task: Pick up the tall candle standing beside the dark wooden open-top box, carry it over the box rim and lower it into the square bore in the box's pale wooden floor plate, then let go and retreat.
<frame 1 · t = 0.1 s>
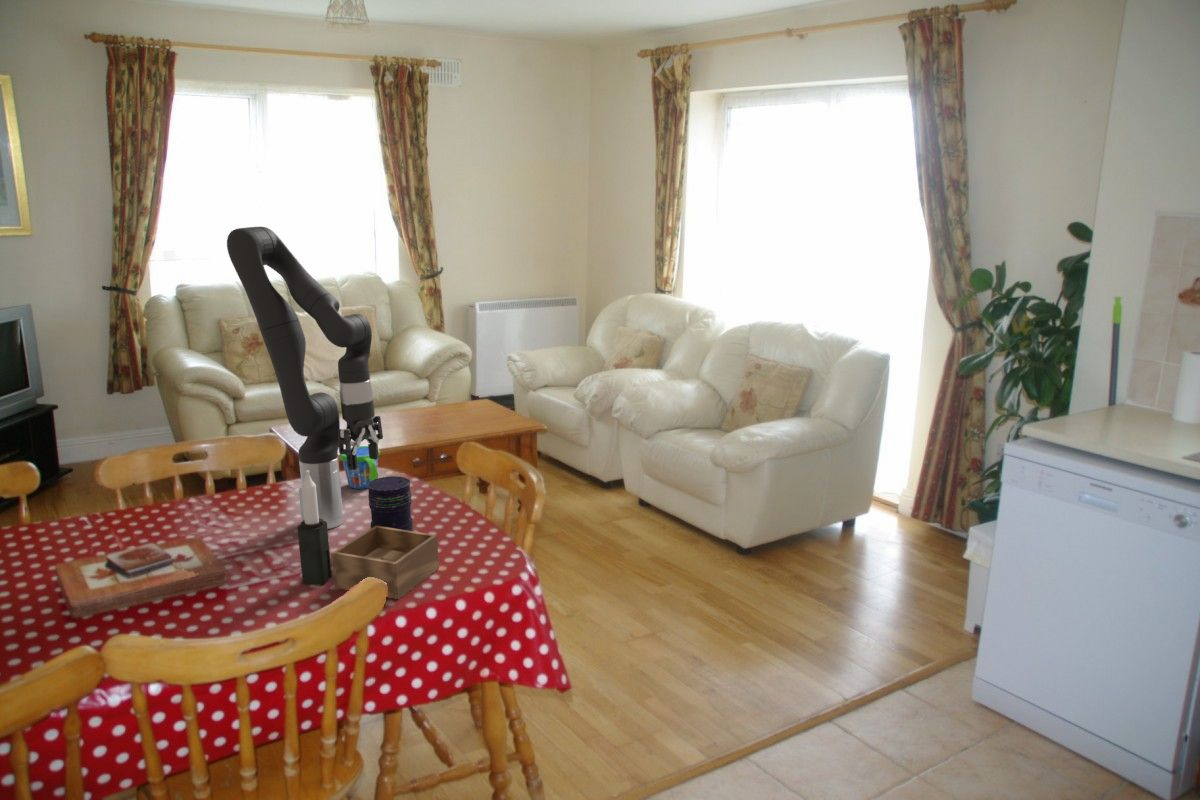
hand: (363, 464, 217), 17 cm above the table, tool pointing down, fingers open, 8 cm apart
peg box: (387, 577, 196), on the table
snack cup: (362, 486, 254), on the table
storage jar: (393, 543, 215), on the table
candle: (317, 580, 195), on the table
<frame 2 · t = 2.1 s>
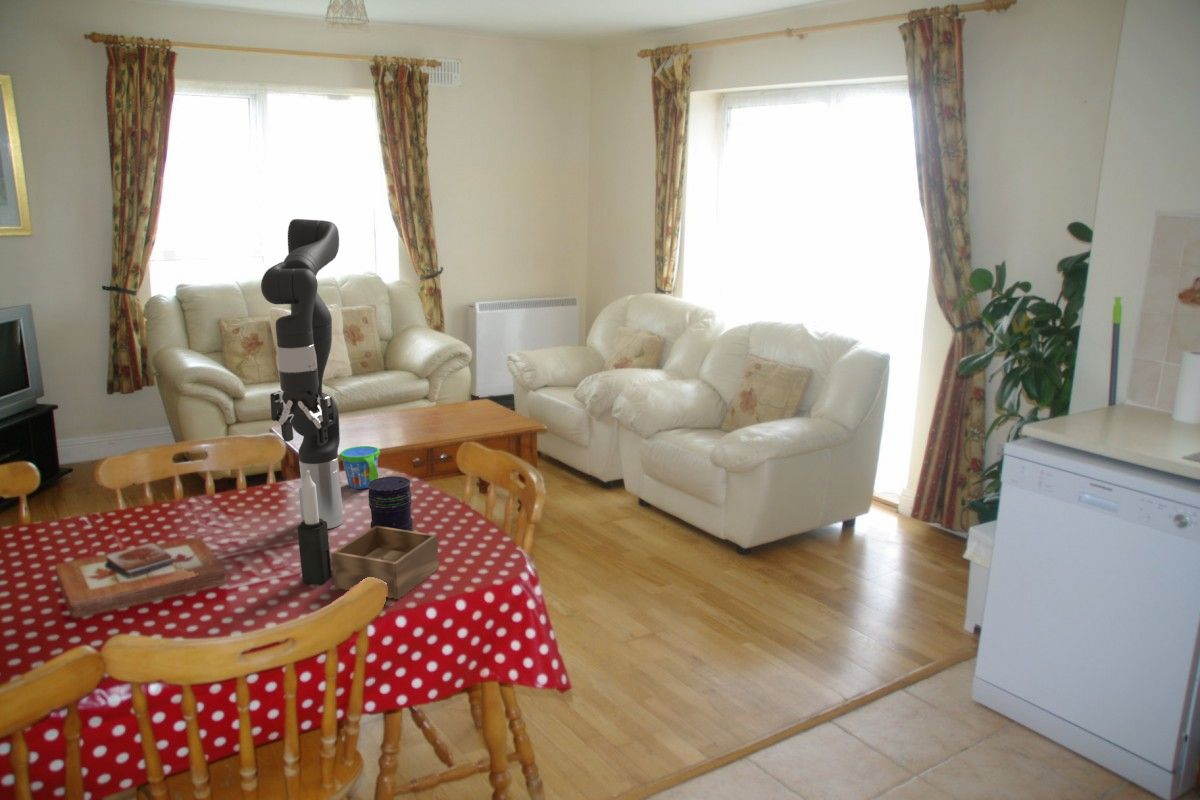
hand: (305, 442, 188), 31 cm above the table, tool pointing down, fingers open, 8 cm apart
nothing on the table moved.
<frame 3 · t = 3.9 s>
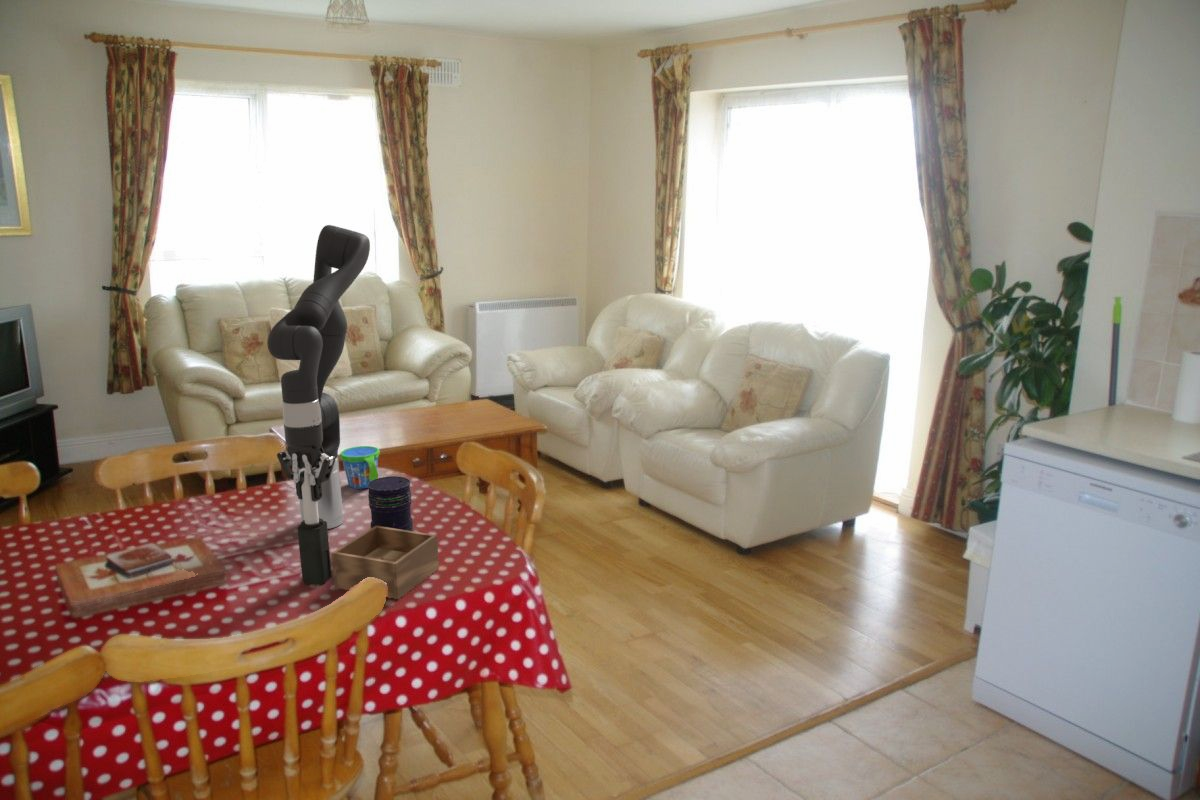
hand: (309, 498, 191), 19 cm above the table, tool pointing down, fingers closed on candle, 3 cm apart
candle: (317, 580, 195), on the table, touching gripper
everything else where it was.
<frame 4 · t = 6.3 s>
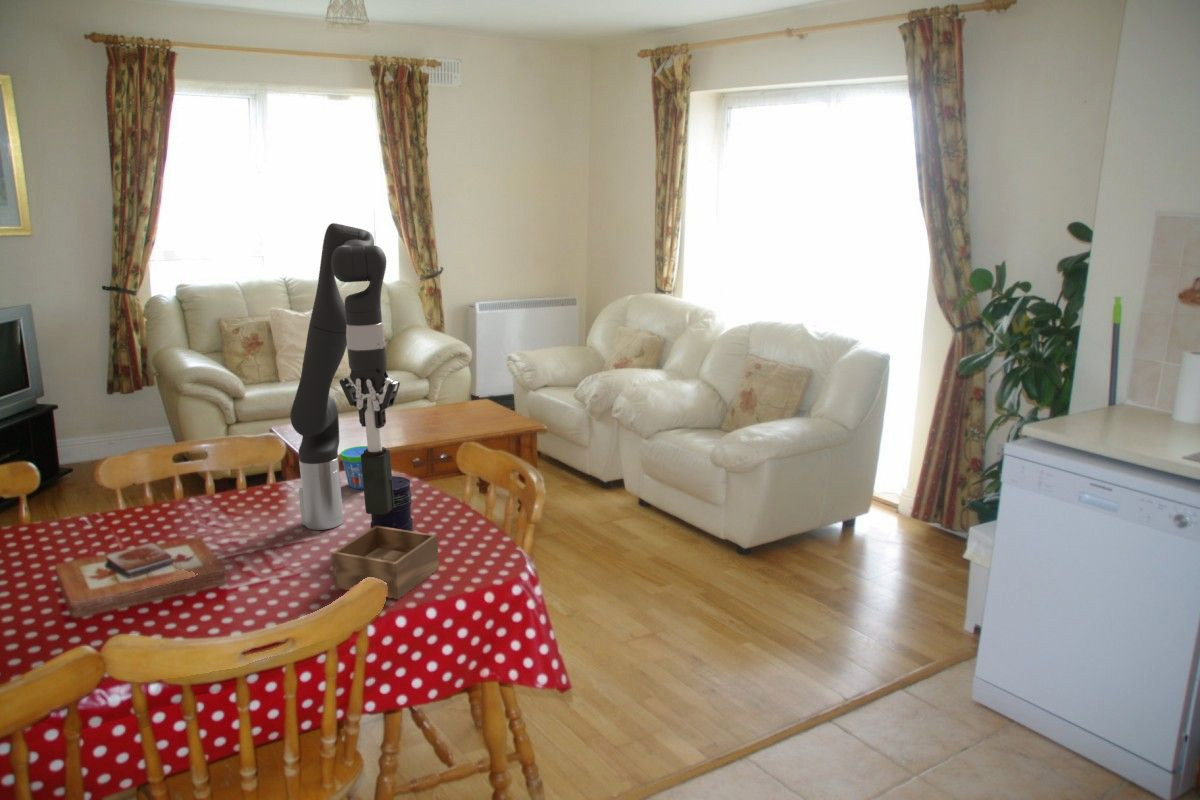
hand: (373, 426, 187), 34 cm above the table, tool pointing down, fingers closed on candle, 3 cm apart
candle: (380, 510, 192), point 16 cm above the table, touching gripper
everything else where it was.
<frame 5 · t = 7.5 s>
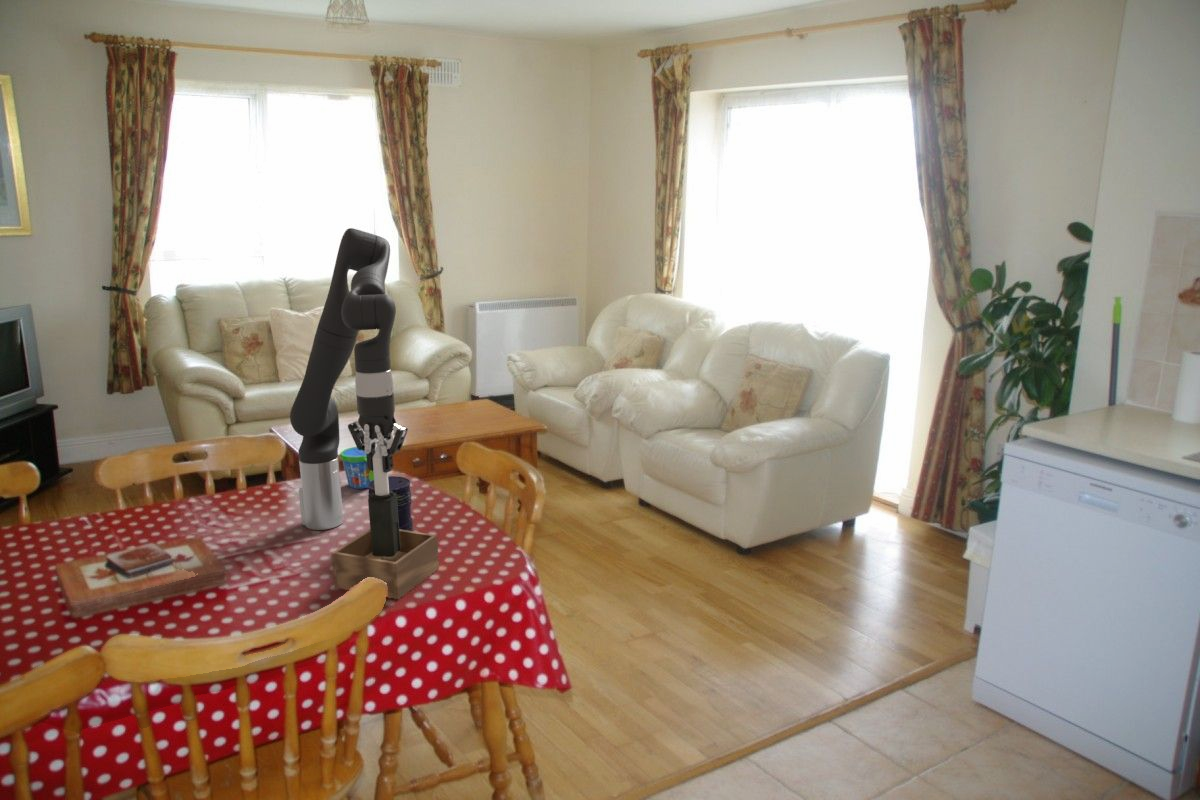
hand: (380, 470, 190), 25 cm above the table, tool pointing down, fingers closed on candle, 3 cm apart
candle: (386, 552, 194), point 6 cm above the table, touching gripper
everything else where it was.
when the fingers open (21 cm above the table, at t = 8.7 s): candle drops 2 cm, resting in peg box.
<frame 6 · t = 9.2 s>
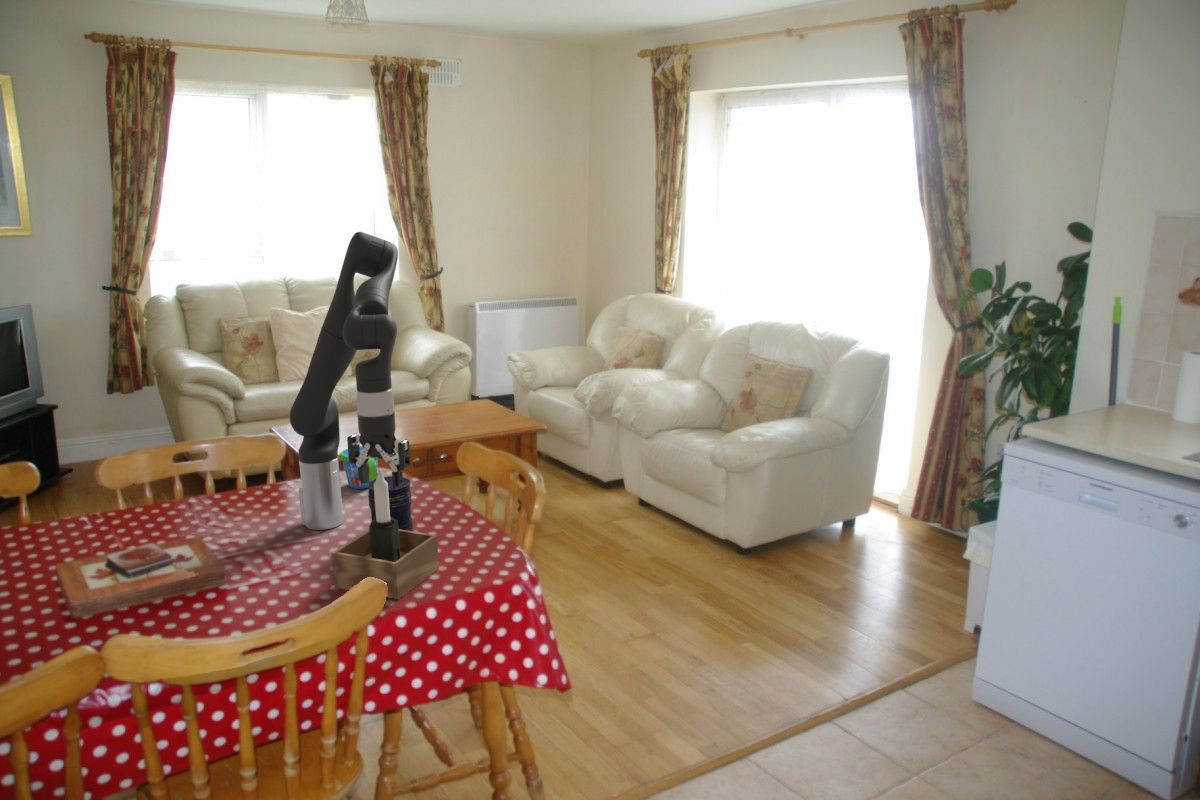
hand: (381, 484, 190), 21 cm above the table, tool pointing down, fingers open, 7 cm apart
candle: (387, 578, 196), resting in peg box
everything else where it was.
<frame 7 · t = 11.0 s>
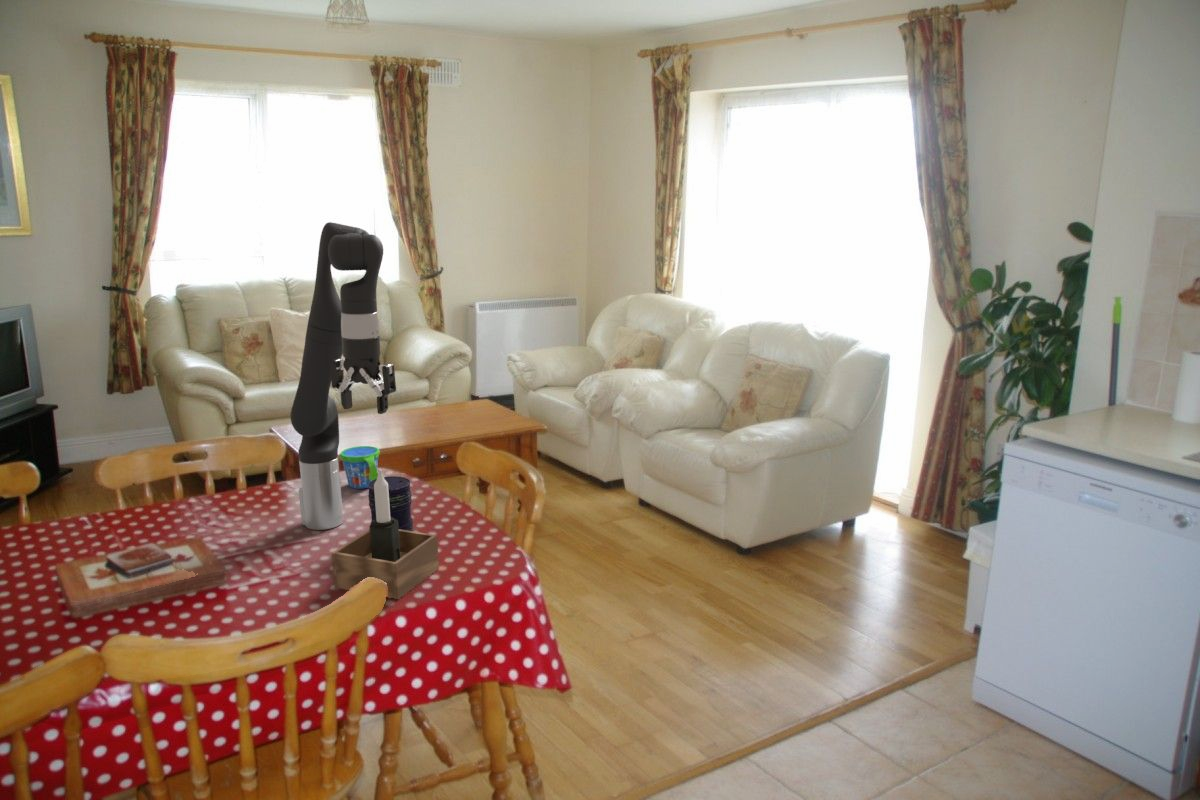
hand: (365, 410, 187), 38 cm above the table, tool pointing down, fingers open, 8 cm apart
nothing on the table moved.
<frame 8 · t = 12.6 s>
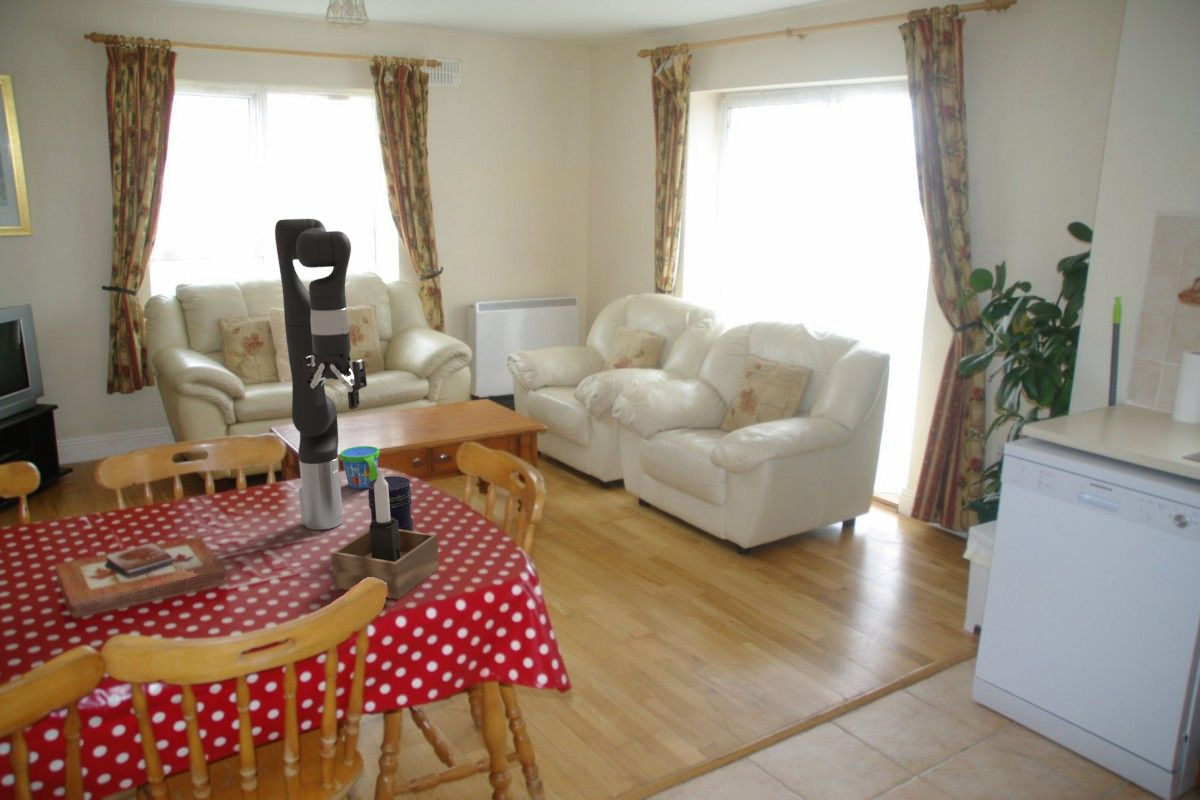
hand: (336, 406, 189), 38 cm above the table, tool pointing down, fingers open, 8 cm apart
nothing on the table moved.
at the end: candle 0.1 cm from the peg box (horizontally); candle tilted 0°; the gripper is holding nothing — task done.
